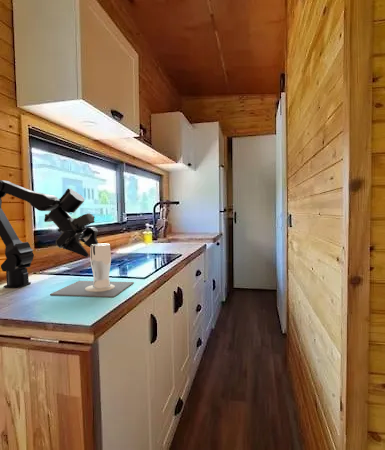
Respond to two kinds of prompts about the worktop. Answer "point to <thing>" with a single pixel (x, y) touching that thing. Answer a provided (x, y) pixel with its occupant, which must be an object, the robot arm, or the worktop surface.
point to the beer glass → (100, 265)
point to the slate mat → (92, 289)
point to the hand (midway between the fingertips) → (94, 253)
